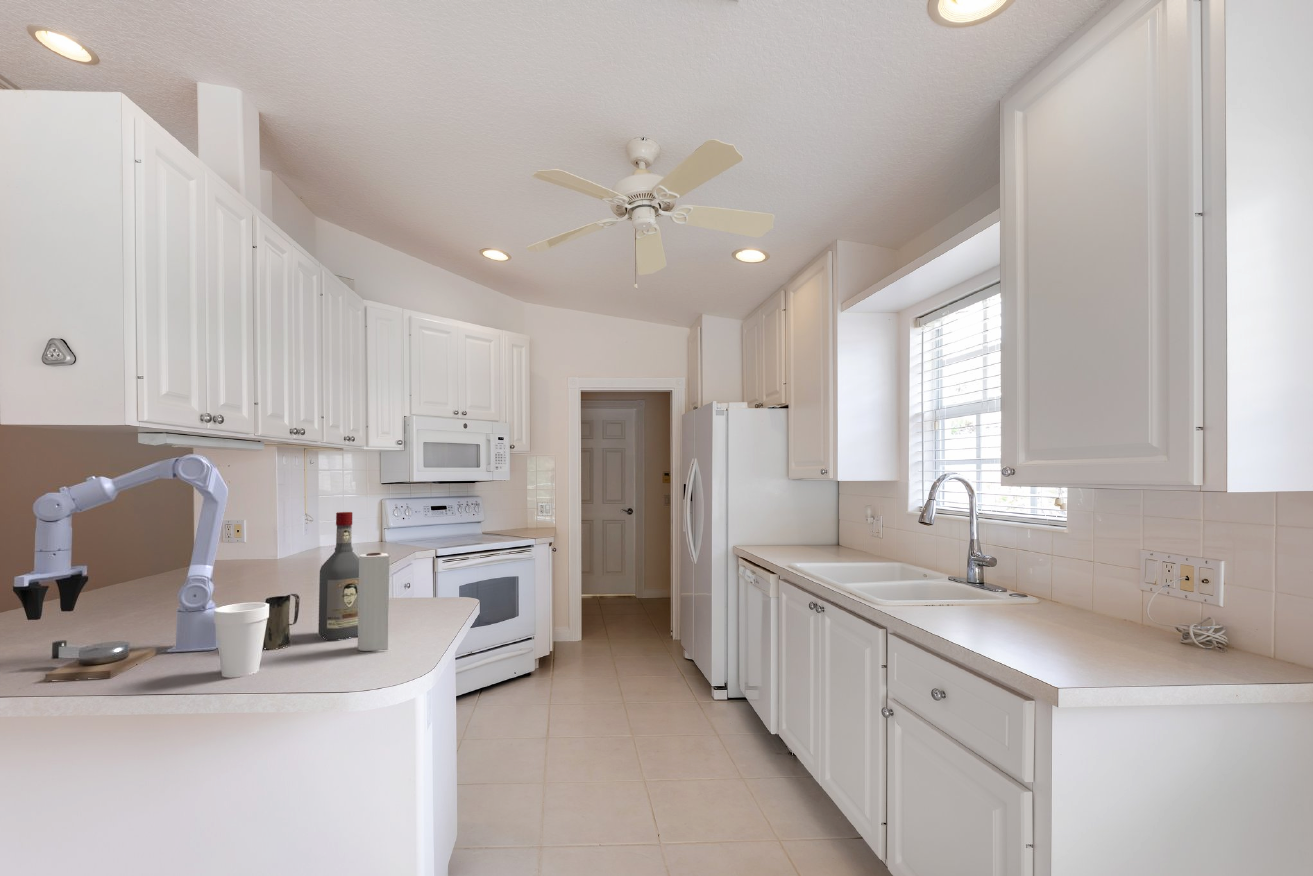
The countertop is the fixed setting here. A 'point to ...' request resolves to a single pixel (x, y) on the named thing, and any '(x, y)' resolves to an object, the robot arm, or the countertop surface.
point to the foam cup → (240, 637)
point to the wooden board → (100, 667)
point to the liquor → (340, 586)
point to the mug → (279, 621)
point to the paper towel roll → (373, 602)
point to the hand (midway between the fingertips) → (51, 615)
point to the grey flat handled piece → (91, 652)
